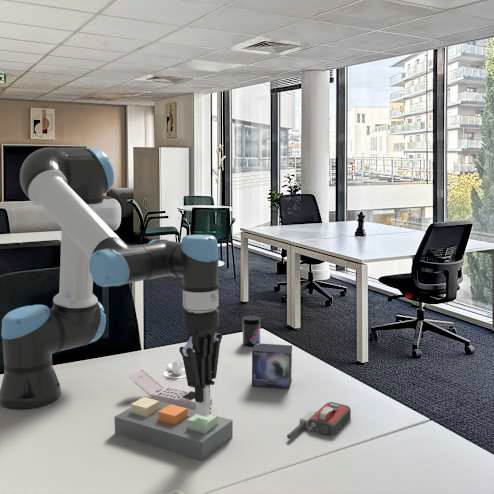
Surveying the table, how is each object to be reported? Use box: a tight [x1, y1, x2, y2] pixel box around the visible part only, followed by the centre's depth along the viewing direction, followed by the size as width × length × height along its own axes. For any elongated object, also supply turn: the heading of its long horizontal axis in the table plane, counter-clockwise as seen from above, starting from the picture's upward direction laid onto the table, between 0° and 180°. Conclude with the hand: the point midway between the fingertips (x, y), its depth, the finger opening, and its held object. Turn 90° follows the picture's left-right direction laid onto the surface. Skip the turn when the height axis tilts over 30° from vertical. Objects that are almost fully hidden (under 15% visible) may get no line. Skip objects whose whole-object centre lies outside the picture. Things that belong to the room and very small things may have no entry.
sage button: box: [188, 414, 218, 434], centre depth 129 cm, size 5×5×4 cm
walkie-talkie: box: [286, 401, 352, 440], centre depth 137 cm, size 9×4×20 cm
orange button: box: [158, 404, 187, 425], centre depth 133 cm, size 5×5×4 cm
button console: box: [114, 397, 234, 461], centre depth 133 cm, size 24×12×4 cm, turn 60°
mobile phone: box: [128, 369, 213, 415], centre depth 151 cm, size 6×6×25 cm
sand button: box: [130, 396, 160, 417], centre depth 137 cm, size 5×5×4 cm
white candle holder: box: [162, 358, 186, 379], centre depth 172 cm, size 9×8×4 cm
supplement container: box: [242, 315, 261, 347], centre depth 197 cm, size 6×6×9 cm
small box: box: [251, 342, 293, 390], centre depth 163 cm, size 11×6×10 cm, turn 80°
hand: (202, 414), depth 129 cm, fingers closed
